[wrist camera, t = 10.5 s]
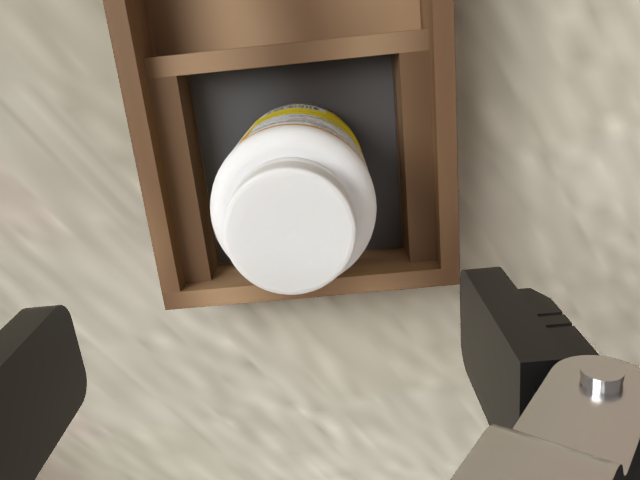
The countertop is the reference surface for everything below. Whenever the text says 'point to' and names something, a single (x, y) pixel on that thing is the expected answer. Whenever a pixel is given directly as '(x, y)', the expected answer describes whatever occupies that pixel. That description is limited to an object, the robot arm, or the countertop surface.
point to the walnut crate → (281, 89)
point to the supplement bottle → (294, 200)
